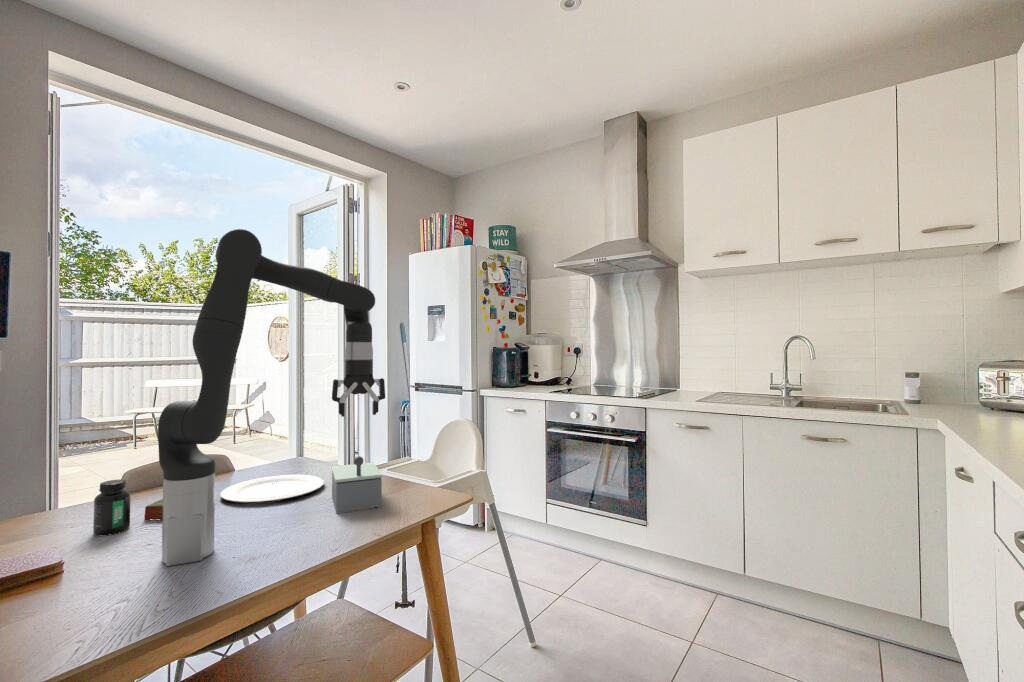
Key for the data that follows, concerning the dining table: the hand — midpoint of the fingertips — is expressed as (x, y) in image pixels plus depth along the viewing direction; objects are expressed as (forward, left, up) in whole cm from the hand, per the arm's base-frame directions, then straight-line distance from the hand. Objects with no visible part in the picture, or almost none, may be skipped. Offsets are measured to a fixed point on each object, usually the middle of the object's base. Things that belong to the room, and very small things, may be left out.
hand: (358, 415), depth 130 cm
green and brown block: (+20, +45, -27) cm, 56 cm away
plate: (+28, +22, -27) cm, 44 cm away
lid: (+6, 0, -18) cm, 19 cm away
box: (+6, 0, -26) cm, 27 cm away
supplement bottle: (+9, +57, -26) cm, 63 cm away
